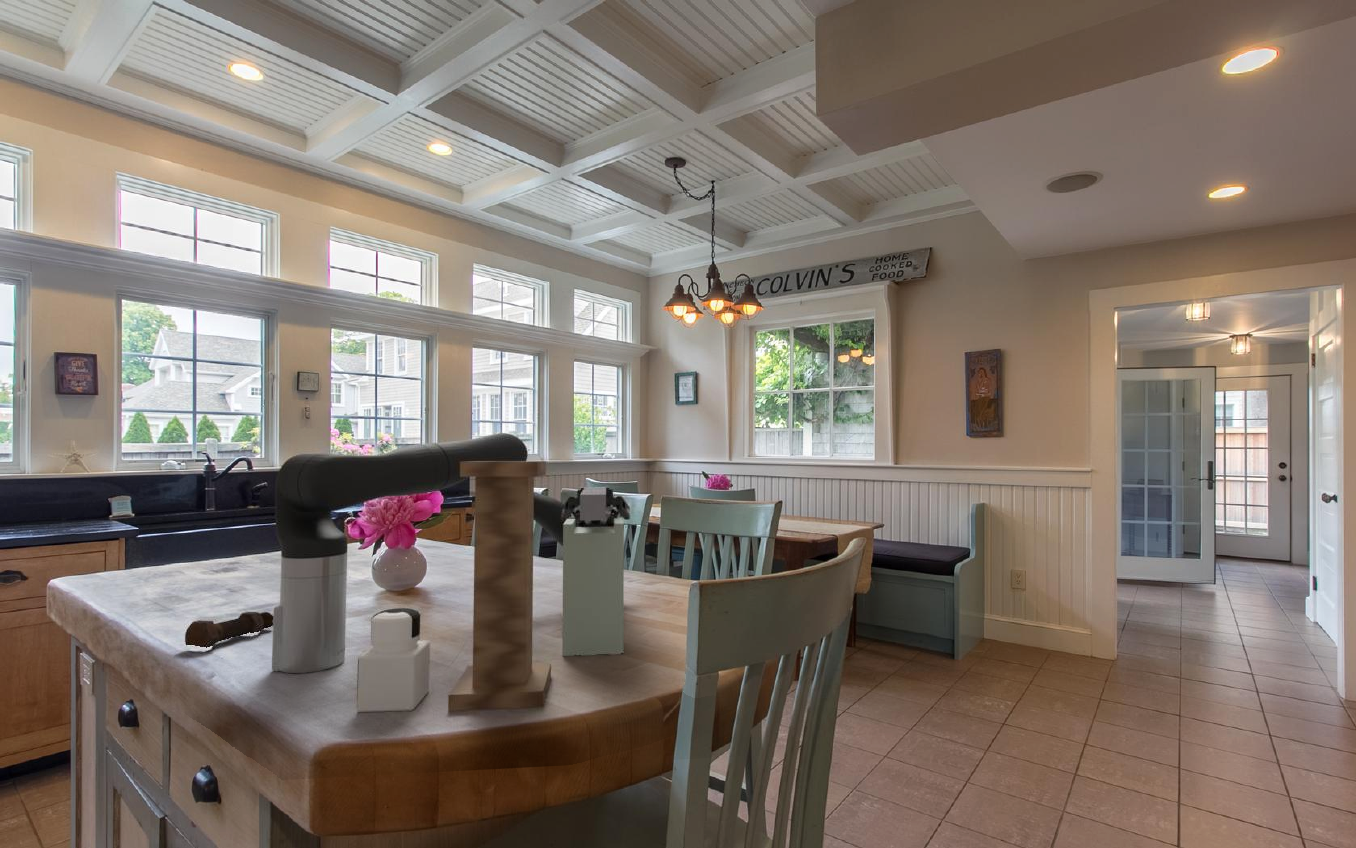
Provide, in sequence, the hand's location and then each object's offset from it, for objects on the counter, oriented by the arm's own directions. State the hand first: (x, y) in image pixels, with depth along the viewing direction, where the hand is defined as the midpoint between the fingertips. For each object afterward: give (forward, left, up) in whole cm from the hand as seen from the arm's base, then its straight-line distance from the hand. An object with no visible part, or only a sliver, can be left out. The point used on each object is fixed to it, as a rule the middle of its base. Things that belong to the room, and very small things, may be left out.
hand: (595, 491), depth 121 cm
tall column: (-12, -28, -26) cm, 40 cm away
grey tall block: (0, -7, -26) cm, 27 cm away
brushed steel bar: (0, -7, -3) cm, 7 cm away
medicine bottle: (-26, -29, -27) cm, 47 cm away
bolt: (-64, +5, -27) cm, 70 cm away
